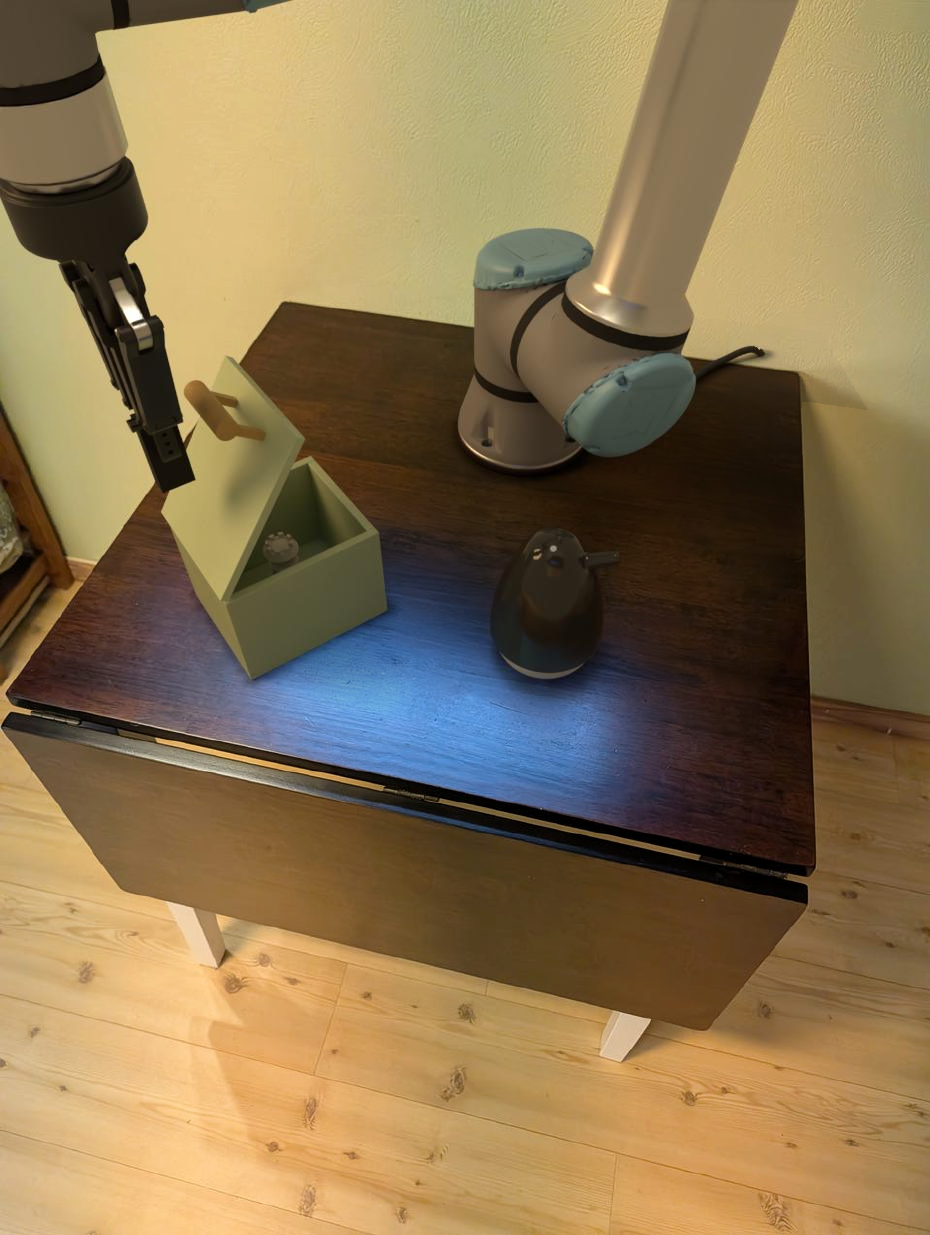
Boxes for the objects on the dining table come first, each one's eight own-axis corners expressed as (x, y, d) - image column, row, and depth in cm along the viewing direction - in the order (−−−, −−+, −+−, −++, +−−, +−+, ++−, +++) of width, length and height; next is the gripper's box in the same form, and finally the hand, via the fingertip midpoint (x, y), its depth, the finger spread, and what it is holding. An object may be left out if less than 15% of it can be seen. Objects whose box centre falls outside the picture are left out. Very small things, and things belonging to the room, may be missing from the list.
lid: (233, 357, 69) (176, 341, 65) (305, 438, 62) (248, 426, 59) (168, 513, 75) (114, 506, 72) (228, 601, 69) (172, 599, 65)
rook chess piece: (278, 579, 84) (263, 521, 78) (321, 585, 83) (310, 527, 77) (263, 613, 81) (246, 556, 75) (308, 620, 81) (295, 563, 74)
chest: (325, 535, 89) (311, 455, 81) (387, 610, 82) (379, 532, 74) (196, 594, 84) (166, 516, 75) (251, 680, 77) (225, 605, 69)
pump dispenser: (593, 705, 75) (617, 595, 64) (479, 686, 77) (482, 574, 65) (604, 618, 82) (628, 503, 70) (499, 602, 83) (504, 486, 71)
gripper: (-38, 141, 49) (100, 454, 68) (30, 230, 43) (162, 551, 61) (88, 111, 52) (187, 420, 70) (170, 190, 45) (256, 509, 64)
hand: (175, 481), depth 66 cm, fingers closed
